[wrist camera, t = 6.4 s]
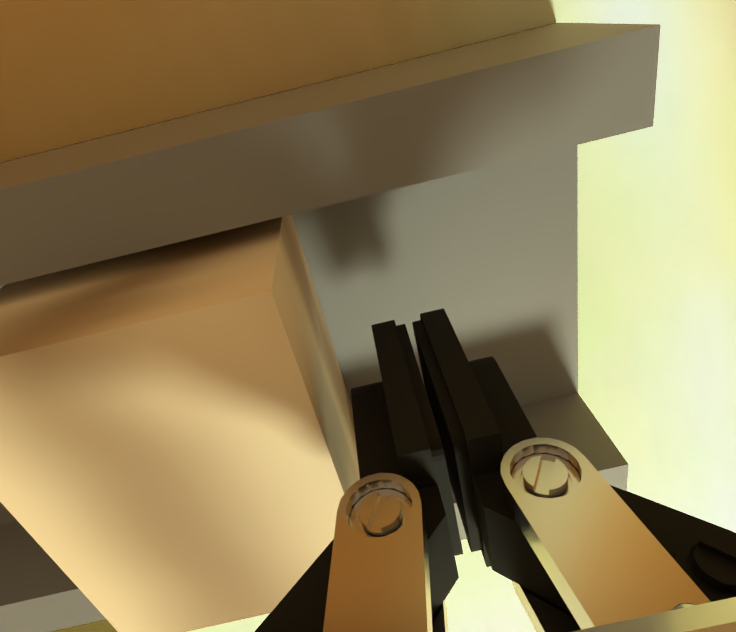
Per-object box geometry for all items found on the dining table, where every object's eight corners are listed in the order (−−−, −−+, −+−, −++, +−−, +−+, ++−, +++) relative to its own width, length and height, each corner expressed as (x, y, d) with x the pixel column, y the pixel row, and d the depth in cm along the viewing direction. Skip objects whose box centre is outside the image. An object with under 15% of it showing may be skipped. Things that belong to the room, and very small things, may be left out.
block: (285, 192, 12) (270, 291, 8) (360, 435, 16) (378, 588, 12) (41, 252, 12) (-108, 382, 8) (177, 478, 16) (128, 644, 12)
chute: (557, 22, 12) (752, 26, 6) (564, 409, 18) (668, 568, 13) (-492, 286, 12) (-1066, 477, 7) (-137, 570, 18) (-310, 783, 13)
